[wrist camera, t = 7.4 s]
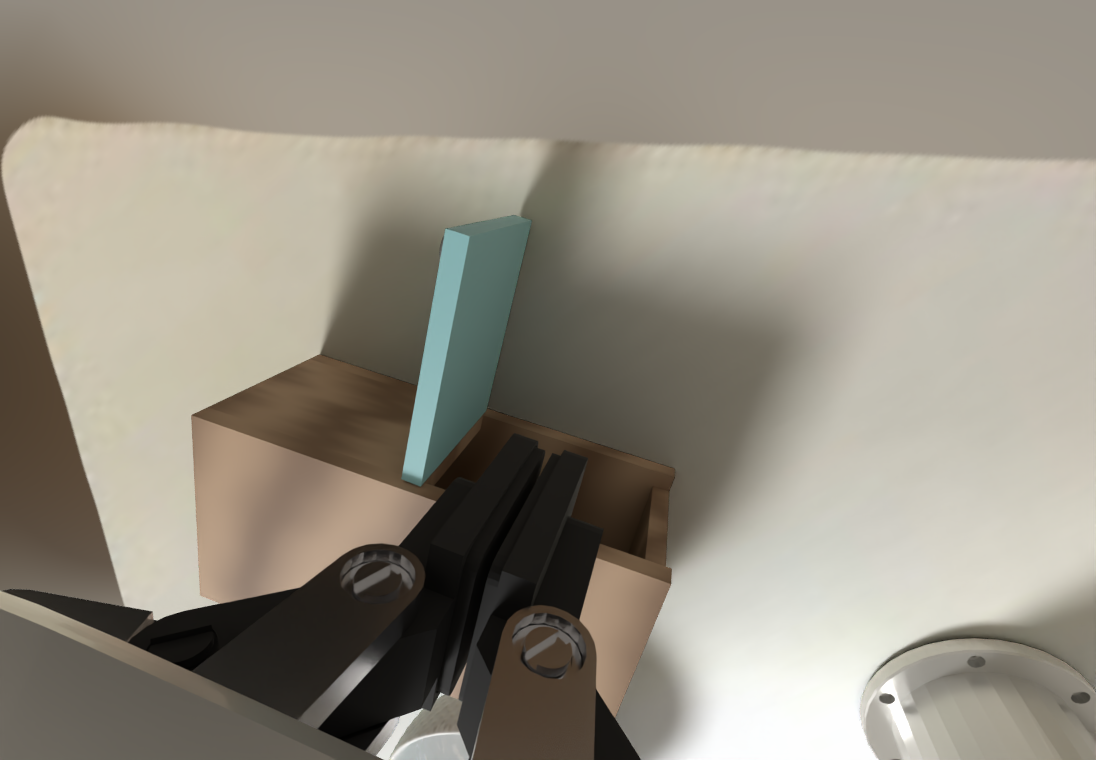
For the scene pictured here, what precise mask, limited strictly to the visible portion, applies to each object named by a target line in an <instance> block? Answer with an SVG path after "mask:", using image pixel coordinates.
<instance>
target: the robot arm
mask: <svg viewBox="0 0 1096 760" xmlns="http://www.w3.org/2000/svg"><path fill="white" fill-rule="evenodd" d="M544 456H545V450H543V449H540V448H538V441H537V440H534V439H531V438H528V437H525V436H522V435H519V434H516V433H514V434H513V435H512V436H511V437H510V439H509V440H508V441H507V443H506V444H505V445H504V446H503V448H502V449H501V450H500V452H499V453H498V454H497V456H496V457H495V458H494V460H493V461H492V462H491V464H490V465H489V466H488V468H487V469H486V470H485V472H484V473H483V474H482V476H481V477H480V478H479V479H478V481H477V482H476V483H475V482H472V481H469V480H467V479H464V478H461V477H457V478H456V479H455V480H454V481H453V482H452V483H451V484H450V485H449V487H448V488H447V489H446V490H445V491H444V493H443V494H442V495H441V496H440V497H439V499H438V500H437V501H436V502H435V503H434V504H433V506H432V507H431V508H430V509H429V510H428V512H427V513H426V514H425V515H424V516H423V518H422V519H421V520H420V521H419V522H418V523H417V525H416V526H415V527H414V528H413V529H412V531H411V532H410V533H409V534H408V535H407V537H406V538H405V539H404V540H403V541H402V542H401V544H400V545H399V546H396V545H391V544H384V543H378V544H367V545H363V546H360V547H357V548H354V549H352V550H350V551H349V552H347V553H345V554H343V555H342V556H341V557H339V558H338V559H337V560H335V561H334V562H333V563H331V564H330V565H329V566H328V567H326V568H325V569H324V570H322V571H321V572H320V573H318V574H317V575H316V576H315V577H313V578H312V579H311V580H309V581H308V582H307V583H305V584H304V585H303V586H302V587H300V588H295V589H290V590H285V591H280V592H275V593H270V594H266V595H261V596H256V597H251V598H246V599H241V600H236V601H231V602H226V603H221V604H217V605H212V606H207V607H202V608H197V609H192V610H187V611H183V612H180V613H176V614H173V615H170V616H166V617H164V618H162V619H160V620H158V621H157V620H153V612H152V611H147V610H141V609H135V608H130V607H124V606H119V605H113V604H107V603H102V602H96V601H90V600H85V599H79V598H74V597H68V596H63V595H57V594H52V593H46V592H40V591H35V590H27V589H26V590H25V589H8V590H3V591H0V760H383V759H381V758H379V757H377V756H376V755H377V754H378V752H379V751H380V750H381V748H382V747H383V746H384V744H385V743H386V742H387V740H388V739H389V738H390V736H391V735H392V734H393V732H394V730H395V728H396V726H397V725H398V723H399V718H400V716H402V715H405V714H408V713H411V712H413V711H416V710H419V709H421V708H423V709H425V710H428V711H431V709H432V708H433V706H434V704H435V702H436V700H437V698H438V696H439V694H440V692H441V693H443V694H445V695H448V696H450V695H451V693H452V692H453V690H454V688H455V686H456V684H457V682H458V680H459V678H460V676H461V673H462V671H463V669H464V667H465V665H466V668H465V672H464V676H463V681H462V685H461V689H460V693H459V698H458V700H459V701H461V702H462V705H461V709H460V713H459V717H458V721H457V727H458V729H459V732H460V734H461V737H462V740H463V742H464V745H465V748H466V750H467V753H468V755H469V759H468V760H641V759H640V757H639V756H638V754H637V753H636V751H635V750H634V748H633V746H632V745H631V743H630V742H629V740H628V738H627V737H626V735H625V734H624V732H623V731H622V729H621V727H620V726H619V724H618V723H617V721H616V719H615V718H614V716H613V715H612V713H611V712H610V710H609V708H608V707H607V705H606V704H605V702H604V700H603V699H602V697H601V696H600V694H599V693H598V691H597V689H596V668H597V654H596V647H595V643H594V640H593V638H592V636H591V634H590V632H589V631H588V629H587V628H586V627H585V626H584V625H583V624H582V623H581V622H580V616H581V612H582V608H583V605H584V601H585V597H586V594H587V590H588V586H589V583H590V579H591V575H592V572H593V568H594V564H595V560H596V557H597V553H598V549H599V546H600V542H601V538H602V535H603V531H604V529H603V528H600V527H597V526H595V525H592V524H589V523H586V522H583V521H581V520H578V519H575V518H572V517H571V515H572V512H573V508H574V505H575V502H576V498H577V495H578V492H579V488H580V485H581V482H582V478H583V475H584V472H585V468H586V465H587V461H588V458H587V457H584V456H581V455H578V454H575V453H572V452H569V451H566V450H564V451H563V452H562V454H561V456H560V455H557V454H554V453H552V454H551V456H550V458H549V460H548V462H547V464H546V465H545V467H544V469H543V471H542V473H541V474H540V472H541V468H542V464H543V460H544ZM466 663H467V664H466ZM860 718H861V724H862V728H863V730H864V733H865V736H866V739H867V742H868V745H869V746H870V748H871V749H872V751H873V753H874V754H875V756H876V758H877V759H878V760H1096V691H1095V690H1094V689H1093V688H1092V686H1091V685H1090V684H1089V683H1088V682H1087V681H1086V679H1085V678H1084V677H1083V676H1082V675H1081V674H1080V673H1078V672H1077V671H1076V670H1075V669H1073V668H1072V667H1071V666H1069V665H1068V664H1067V663H1065V662H1064V661H1062V660H1060V659H1058V658H1056V657H1054V656H1052V655H1050V654H1048V653H1046V652H1044V651H1041V650H1038V649H1035V648H1032V647H1029V646H1026V645H1023V644H1018V643H1013V642H1008V641H1002V640H995V639H978V638H969V639H954V640H946V641H941V642H936V643H931V644H927V645H924V646H921V647H918V648H915V649H913V650H910V651H907V652H905V653H904V654H902V655H900V656H898V657H896V658H895V659H893V660H891V661H889V662H888V663H887V664H886V665H885V666H883V667H882V668H881V669H880V670H879V671H877V672H876V674H875V675H874V676H873V677H872V679H871V680H870V681H869V683H868V684H867V686H866V688H865V690H864V693H863V695H862V697H861V704H860Z"/></svg>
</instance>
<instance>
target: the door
mask: <svg viewBox="0 0 1096 760" xmlns="http://www.w3.org/2000/svg"><path fill="white" fill-rule="evenodd" d="M531 222H532V220H529V219H526V218H523V217H519V216H516V215H512V216H507V217H502V218H497V219H492V220H487V221H482V222H477V223H472V224H466V225H461V226H456V227H451V228H446V229H445V234H444V236H443V239H442V242H441V246H440V263H439V268H438V274H437V280H436V285H435V291H434V297H433V302H432V308H431V314H430V319H429V325H428V331H427V336H426V342H425V348H424V353H423V359H422V365H421V370H420V376H419V382H418V387H417V393H416V399H415V404H414V410H413V416H412V421H411V427H410V433H409V438H408V444H407V450H406V455H405V461H404V467H403V472H402V478H401V479H402V480H405V481H407V482H410V483H412V484H415V485H418V486H420V487H421V486H422V485H423V483H424V482H425V481H426V480H427V479H428V478H429V476H430V475H431V474H432V473H433V472H434V471H435V469H436V468H437V467H438V466H439V465H440V464H441V463H442V461H443V460H444V459H445V458H446V457H447V456H448V454H449V453H450V452H451V451H452V450H453V449H454V447H455V446H456V445H457V444H458V443H459V442H460V441H461V439H462V438H463V437H464V436H465V435H466V434H467V432H468V431H469V430H470V429H471V428H472V427H473V425H474V424H475V423H476V422H477V421H478V420H479V419H480V417H481V416H482V415H483V414H484V413H485V412H486V410H487V406H488V401H489V397H490V393H491V389H492V385H493V381H494V376H495V372H496V368H497V364H498V360H499V356H500V351H501V347H502V343H503V339H504V335H505V331H506V326H507V322H508V318H509V314H510V310H511V306H512V301H513V297H514V293H515V289H516V285H517V281H518V276H519V272H520V268H521V264H522V260H523V256H524V251H525V247H526V243H527V239H528V235H529V231H530V226H531Z"/></svg>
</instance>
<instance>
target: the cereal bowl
mask: <svg viewBox="0 0 1096 760" xmlns="http://www.w3.org/2000/svg"><path fill="white" fill-rule="evenodd" d="M461 705H462V702H461V701H459V700H458V699H455V698H453V697H451V696H448V695H443V696H441V697H440V698H438V699H437V700H436V702H435V704H434V706H433V708H432V709H431V711H428V710H425V709H423V710H422V711H421V712H420V713H419V715H418V716H417V717H416V718H415V719H414V720H413V721H412V723H411V724H410V726H409V727H408V728H407V729H406V731H405V733H404V734H403V736H402V737H401V739H400V740H399V742H398V744H397V746H396V747H395V749H394V751H393V753H392V754H391V756H390V759H389V760H468V759H469V755H468V753H467V750H466V748H465V745H464V742H463V740H462V737H461V734H460V732H459V729H458V727H457V721H458V717H459V713H460V709H461Z"/></svg>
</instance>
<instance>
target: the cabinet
mask: <svg viewBox="0 0 1096 760" xmlns="http://www.w3.org/2000/svg"><path fill="white" fill-rule="evenodd" d="M417 387H418V386H416V385H413V384H410V383H407V382H403V381H400V380H397V379H394V378H391V377H388V376H385V375H382V374H379V373H375V372H372V371H369V370H366V369H363V368H360V367H357V366H354V365H351V364H348V363H344V362H341V361H338V360H335V359H332V358H329V357H326V356H323V355H320V354H319V355H317V356H315V357H313V358H311V359H309V360H307V361H305V362H303V363H300V364H298V365H296V366H294V367H292V368H290V369H288V370H286V371H284V372H281V373H279V374H277V375H275V376H273V377H271V378H269V379H267V380H265V381H262V382H260V383H258V384H256V385H254V386H252V387H250V388H248V389H246V390H244V391H241V392H239V393H237V394H235V395H233V396H231V397H229V398H227V399H225V400H222V401H220V402H218V403H216V404H214V405H212V406H210V407H208V408H206V409H203V410H201V411H199V412H197V413H195V414H193V415H191V419H192V439H193V459H194V479H195V500H196V520H197V540H198V561H199V581H200V595H201V596H203V597H206V598H208V599H210V600H213V601H215V602H218V603H220V604H221V603H226V602H231V601H236V600H241V599H246V598H251V597H256V596H261V595H266V594H270V593H275V592H280V591H285V590H290V589H295V588H300V587H302V586H303V585H304V584H305V583H307V582H308V581H309V580H311V579H312V578H313V577H315V576H316V575H317V574H318V573H320V572H321V571H322V570H324V569H325V568H326V567H328V566H329V565H330V564H331V563H333V562H334V561H335V560H337V559H338V558H339V557H341V556H342V555H343V554H345V553H347V552H349V551H350V550H352V549H354V548H357V547H360V546H363V545H367V544H378V543H384V544H391V545H396V546H399V545H400V544H401V542H402V541H403V540H404V539H405V538H406V537H407V535H408V534H409V533H410V532H411V531H412V529H413V528H414V527H415V526H416V525H417V523H418V522H419V521H420V520H421V519H422V518H423V516H424V515H425V514H426V513H427V512H428V510H429V509H430V508H431V507H432V506H433V504H434V503H435V502H436V501H437V500H438V499H439V497H440V496H441V495H442V494H443V493H444V491H445V490H446V489H447V488H448V487H449V485H450V484H451V483H452V482H453V481H454V480H455V479H456V478H457V477H461V478H464V479H467V480H469V481H472V482H475V483H476V482H477V481H478V479H479V478H480V477H481V476H482V474H483V473H484V472H485V470H486V469H487V468H488V466H489V465H490V464H491V462H492V461H493V460H494V458H495V457H496V456H497V454H498V453H499V452H500V450H501V449H502V448H503V446H504V445H505V444H506V443H507V441H508V440H509V439H510V437H511V436H512V435H513V434H514V433H516V434H519V435H522V436H525V437H528V438H531V439H534V440H537V441H538V448H540V449H543V450H545V456H544V460H543V464H542V468H541V472H540V474H541V473H542V471H543V469H544V467H545V465H546V464H547V462H548V460H549V458H550V456H551V454H552V453H554V454H557V455H560V456H561V454H562V452H563V451H564V450H566V451H569V452H572V453H575V454H578V455H581V456H584V457H587V458H588V461H587V465H586V468H585V472H584V475H583V478H582V482H581V485H580V488H579V492H578V495H577V498H576V502H575V505H574V508H573V512H572V515H571V517H572V518H575V519H578V520H581V521H583V522H586V523H589V524H592V525H595V526H597V527H600V528H603V529H604V531H603V535H602V538H601V542H600V546H599V549H598V553H597V557H596V560H595V564H594V568H593V572H592V575H591V579H590V583H589V586H588V590H587V594H586V597H585V601H584V605H583V608H582V612H581V616H580V622H581V623H582V624H583V625H584V626H585V627H586V628H587V629H588V631H589V632H590V634H591V636H592V638H593V640H594V643H595V647H596V654H597V668H596V689H597V691H598V693H599V694H600V696H601V697H602V699H603V700H604V702H605V704H606V705H607V707H608V708H609V710H610V712H611V713H612V715H613V716H614V718H615V717H616V714H617V712H618V710H619V707H620V705H621V702H622V700H623V698H624V695H625V693H626V690H627V688H628V686H629V683H630V681H631V679H632V676H633V674H634V671H635V669H636V667H637V664H638V662H639V660H640V657H641V655H642V652H643V650H644V648H645V645H646V643H647V640H648V638H649V636H650V633H651V631H652V629H653V626H654V624H655V621H656V619H657V617H658V614H659V612H660V610H661V607H662V605H663V602H664V600H665V598H666V595H667V593H668V590H669V588H670V586H671V574H672V569H671V568H668V567H666V549H667V529H668V508H669V491H670V488H671V486H672V483H673V480H674V478H675V469H674V468H671V467H667V466H664V465H661V464H658V463H655V462H652V461H649V460H646V459H643V458H639V457H636V456H633V455H630V454H627V453H624V452H621V451H618V450H615V449H612V448H608V447H605V446H602V445H599V444H596V443H593V442H590V441H587V440H584V439H580V438H577V437H574V436H571V435H568V434H565V433H562V432H559V431H556V430H553V429H549V428H546V427H543V426H540V425H537V424H534V423H531V422H528V421H525V420H521V419H518V418H515V417H512V416H509V415H506V414H503V413H500V412H497V411H494V410H490V409H487V410H486V412H485V413H484V414H483V415H482V416H481V417H480V419H479V420H478V421H477V422H476V423H475V424H474V425H473V427H472V428H471V429H470V430H469V431H468V432H467V434H466V435H465V436H464V437H463V438H462V439H461V441H460V442H459V443H458V444H457V445H456V446H455V447H454V449H453V450H452V451H451V452H450V453H449V454H448V456H447V457H446V458H445V459H444V460H443V461H442V463H441V464H440V465H439V466H438V467H437V468H436V469H435V471H434V472H433V473H432V474H431V475H430V476H429V478H428V479H427V480H426V481H425V482H424V483H423V485H422V486H421V487H420V486H418V485H415V484H412V483H410V482H407V481H405V480H402V479H401V478H402V472H403V467H404V461H405V455H406V450H407V444H408V438H409V433H410V427H411V421H412V416H413V410H414V404H415V399H416V393H417ZM466 664H467V663H466ZM465 668H466V665H465V667H464V669H463V671H462V673H461V676H460V678H459V680H458V682H457V684H456V686H455V688H454V690H453V692H452V693H451V695H450V696H451V697H453V698H455V699H458V698H459V693H460V689H461V685H462V681H463V676H464V672H465Z"/></svg>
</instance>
